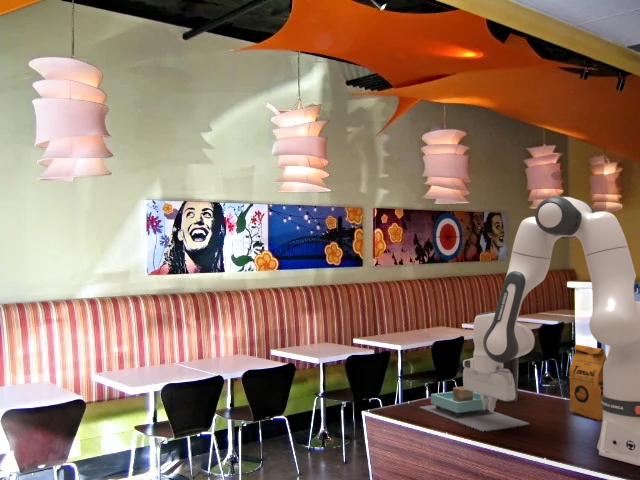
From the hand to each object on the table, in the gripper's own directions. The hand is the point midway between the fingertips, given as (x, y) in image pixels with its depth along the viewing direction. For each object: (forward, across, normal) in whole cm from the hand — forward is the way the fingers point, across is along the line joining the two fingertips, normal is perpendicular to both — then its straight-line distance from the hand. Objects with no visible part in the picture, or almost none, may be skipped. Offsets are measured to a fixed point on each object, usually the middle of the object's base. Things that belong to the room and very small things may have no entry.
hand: (488, 410), depth 202 cm
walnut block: (0, +14, -1) cm, 14 cm away
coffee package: (+4, -8, -35) cm, 36 cm away
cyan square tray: (+4, +14, -1) cm, 14 cm away
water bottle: (+4, +22, -26) cm, 34 cm away
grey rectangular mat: (+4, +9, -1) cm, 10 cm away
